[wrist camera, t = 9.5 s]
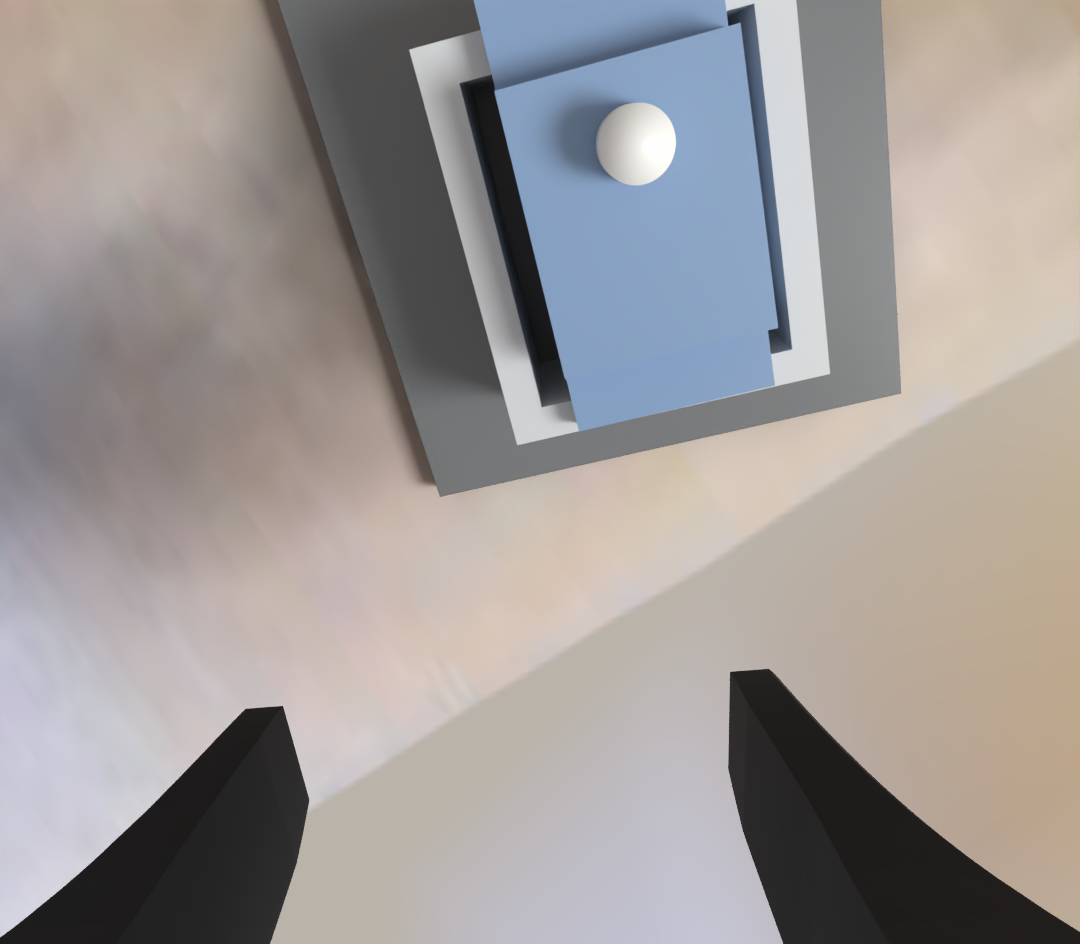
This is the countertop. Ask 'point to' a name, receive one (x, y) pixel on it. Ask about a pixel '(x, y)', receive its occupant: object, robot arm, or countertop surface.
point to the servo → (638, 196)
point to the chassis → (506, 250)
